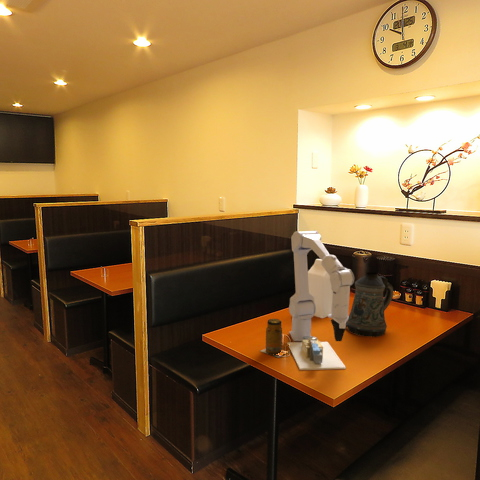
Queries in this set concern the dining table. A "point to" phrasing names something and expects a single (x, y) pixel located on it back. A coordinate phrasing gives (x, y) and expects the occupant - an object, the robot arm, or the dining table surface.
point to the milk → (320, 289)
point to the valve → (308, 351)
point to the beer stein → (370, 306)
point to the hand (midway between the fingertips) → (338, 340)
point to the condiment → (273, 337)
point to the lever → (314, 345)
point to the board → (328, 361)
